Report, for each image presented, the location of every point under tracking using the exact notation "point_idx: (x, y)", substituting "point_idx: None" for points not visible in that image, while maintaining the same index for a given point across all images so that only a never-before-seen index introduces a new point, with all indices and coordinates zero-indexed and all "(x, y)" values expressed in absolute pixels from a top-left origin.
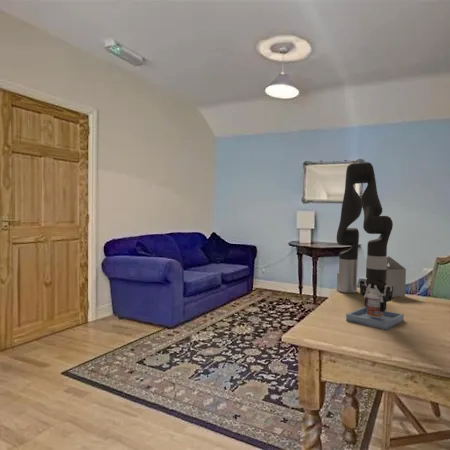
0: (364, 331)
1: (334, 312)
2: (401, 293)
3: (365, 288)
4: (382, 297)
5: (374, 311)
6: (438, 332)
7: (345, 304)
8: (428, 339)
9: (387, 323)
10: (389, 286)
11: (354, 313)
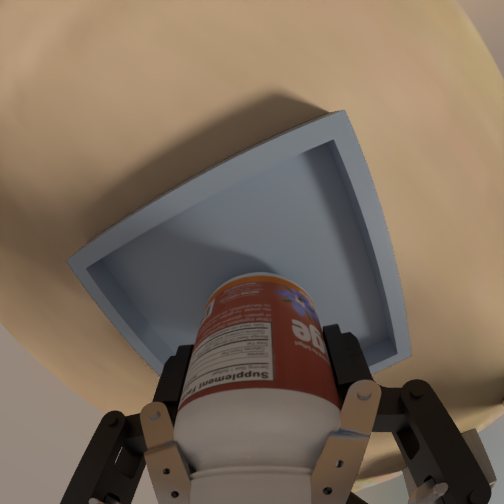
0: (88, 94)
1: (479, 181)
2: (408, 472)
3: (412, 464)
4: (148, 442)
5: (211, 313)
6: (74, 382)
7: (500, 321)
8: (9, 304)
9: (68, 259)
10: None
11: (360, 215)
